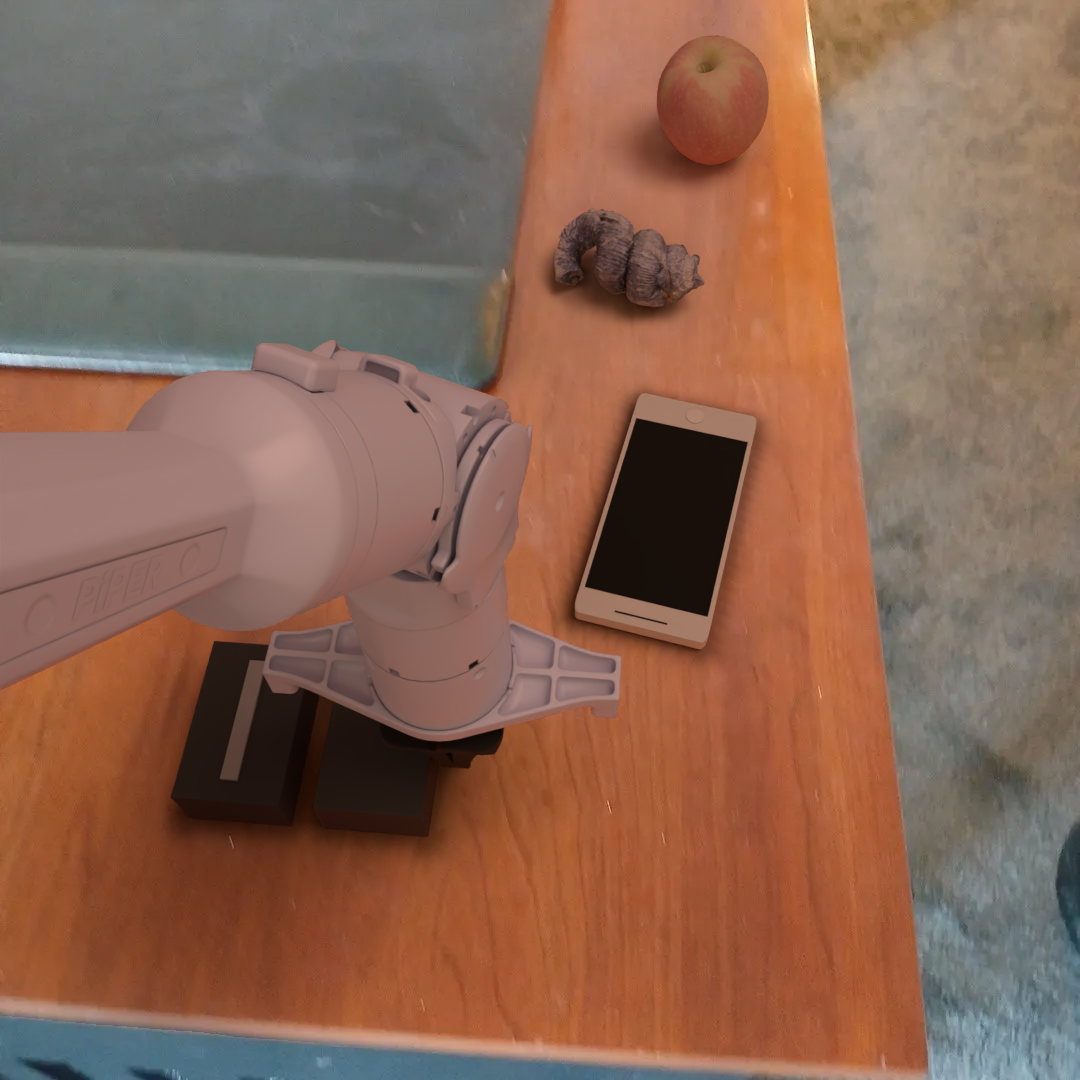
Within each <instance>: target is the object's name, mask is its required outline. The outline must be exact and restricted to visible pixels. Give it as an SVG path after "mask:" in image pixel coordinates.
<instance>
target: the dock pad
mask: <svg viewBox="0 0 1080 1080" xmlns="http://www.w3.org/2000/svg"><path fill="white" fill-rule="evenodd" d="M268 647H269V644H263V643H251V642H250V643H247V642H235V641H234V642H233V641H221V640H214V641H213V644H212V647H211V651H210V654H209V657H208V661H207V665H206V669H205V672H204V676H203V680H202V683H201V687H200V689H199V694H198V698H197V701H196V704H195V708H194V712H193V715H192V718H191V722H190V726H189V729H188V733H187V737H186V741H185V744H184V748H183V750H182V751H183V752H182V754H181V758H180V763H179V766H178V769H177V773H176V777H175V780H174V783H173V787H172V790H171V794H170V799H171V800H172V801H173V802H174V803H175V804H176V805H177V806H178V807H179V809H181V811H182V812H183V813H184V814H185V815H186V816H187V817H188V818H189V819H195V820H209V821H219V822H220V821H223V822H233V823H244V824H245V823H246V824H256V825H257V824H259V825H271V826H283V827H292V826H293V823H294V819H295V813H296V810H297V809H296V808H297V804H298V798H299V795H300V791H301V786H302V780H303V775H304V772H305V771H304V770H305V767H306V761H307V757H308V752H309V747H310V742H311V738H312V734H313V728H314V724H315V719H316V714H317V709H318V704H319V701H320V697H321V695H319V694H316V693H314V692H312V691H309V690H307V689H304V688H301V687H299V689H298V691H297V692H295V693H293V694H286V693H274V692H272V690H271V688H270V686H269V684H268V683H267V681H266V679H265V677H264V675H263V673H262V671H263V667H264V663H265V659H266V655H267V651H268Z"/></svg>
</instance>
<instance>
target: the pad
mask: <svg viewBox="0 0 1080 1080" xmlns="http://www.w3.org/2000/svg"><path fill="white" fill-rule="evenodd" d="M320 763H321V764H320V768H319V773H318V777H317V782H316V788H315V792H314V798H313V803H312V807H311V808H312V810H313V812H314V813H315V815H316V817H317V818H318V820H319V822H320V823H321V825H322V827H323V828H324V829H326V830H328V829H329V830H341V831H352V832H353V831H354V832H363V833H364V832H365V833H375V834H376V833H377V834H390V835H402V836H413V837H425V838H426V837H429V835H430V828H431V820H432V815H433V806H434V801H435V800H434V799H435V792H436V787H437V786H436V785H437V781H438V780H437V779H438V771H439V765H440V764H439V763H438V762H437V761H435V760H434V759H432V758H431V757H429V756H428V755H426V754H424V753H423V752H421V751H418V750H407V749H396V748H391V747H388V746H386V744H385V743H384V741H383V739H382V736H381V733H380V722H379V721H376V720H374V719H372V718H370V717H367V716H365V715H363V714H361V713H359V712H356V711H354V710H352V709H350V708H347V707H345V706H343V705H341V704H339V703H336V702H334V701H333V704H332V709H331V713H330V719H329V724H328V729H327V734H326V739H325V743H324V748H323V753H322V758H321V762H320Z"/></svg>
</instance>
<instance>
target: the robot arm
mask: <svg viewBox="0 0 1080 1080" xmlns="http://www.w3.org/2000/svg"><path fill="white" fill-rule="evenodd" d="M508 409H509V405H508V403H507V402H506V401H505V400H504V399H503V398H500V397H498V396H494V395H491V394H489V393H486V392H482V391H481V390H477V389H473V388H471V387H468V386H465V385H462V384H459V383H457V382H453V381H451V380H448V379H444V378H442V377H439V376H436V375H433V374H430V373H427V372H424V371H421V370H418V368H417V367H416V365H414V364H413V363H411V362H407V361H405V360H402V359H398V358H395V357H393V356H389V355H386V354H383V353H369V352H366V351H362V350H351V351H350V350H348V349H347V348H345V347H343V346H339V344H338V342H337V341H336V340H335V339H329V340H327V341H324V342H322V343H321V344H319V345H318V346H316V347H315V348H314V349H313V350H311V351H309V350H306V349H303V348H300V347H297V346H294V345H291V344H288V343H276V342H275V343H274V342H261V343H259V344H257V346H256V347H255V349H254V353H253V358H252V362H251V367H250V369H241V370H240V369H239V370H237V369H236V370H218V369H216V370H207V371H201V372H197V373H193V374H188V375H185V376H183V377H180V378H178V379H175V380H174V381H171V382H170V383H168V384H166V385H165V386H163V387H162V388H161V389H159V390H158V391H156V393H154V394H153V395H152V396H151V397H150V398H149V399H148V400H147V401H145V403H144V404H143V405H142V406H141V407H140V408H139V410H137V411H136V413H135V414H134V416H133V418H132V419H131V420H130V422H129V423H128V425H127V427H126V429H125V430H81V431H78V430H77V431H75V430H74V431H0V692H1V691H4V690H5V689H7V688H9V687H11V686H14V685H16V684H19V683H20V682H23V681H25V680H26V679H28V678H30V677H33V676H35V675H37V674H39V673H41V672H44V671H45V670H47V669H50V668H51V667H54V666H56V665H58V664H60V663H62V662H64V661H66V660H68V659H71V658H72V657H76V656H77V655H79V654H81V653H83V652H85V651H87V650H89V649H91V648H94V647H96V646H98V645H100V644H102V643H104V642H106V641H108V640H111V639H112V638H115V637H116V636H119V635H121V634H123V633H125V632H127V631H129V630H131V629H134V628H136V627H138V626H140V625H142V624H144V623H146V622H148V621H150V620H152V619H154V618H157V617H158V616H161V615H163V614H165V613H167V612H169V611H172V610H173V611H174V612H175V613H176V614H179V615H180V616H182V617H184V618H186V619H187V620H189V621H191V622H193V623H195V624H198V625H200V626H202V627H203V626H204V627H207V628H210V629H214V630H219V631H225V632H251V631H259V630H264V629H268V628H270V627H271V628H272V627H273V626H276V625H278V624H280V623H282V622H285V621H287V620H289V619H291V618H294V617H298V616H299V615H302V614H304V613H306V612H309V611H311V610H313V609H315V608H318V607H319V606H323V605H324V604H326V603H329V602H331V601H333V600H336V599H338V598H340V597H342V596H343V599H344V601H345V604H346V607H347V610H348V613H349V617H350V618H351V619H347V620H343V621H340V622H335V623H331V624H328V625H327V624H326V625H323V626H319V627H314V628H313V627H312V628H307V629H301V630H299V629H298V630H272V631H271V635H270V640H269V643H268V645H269V647H268V651H267V655H266V659H265V663H264V667H263V671H262V673H263V675H264V677H265V679H266V681H267V683H268V684H269V686H270V688H271V690H272V692H274V693H286V694H293V693H295V692H297V691H298V689H299V687H301V688H304V689H307V690H309V691H312V692H314V693H316V694H319V695H320V697H323V698H325V699H328V700H330V701H332V702H333V703H334V702H336V703H339V704H341V705H343V706H345V707H347V708H350V709H352V710H354V711H356V712H359V713H361V714H363V715H365V716H367V717H370V718H372V719H374V720H376V721H379V722H380V733H381V736H382V739H383V741H384V743H385V744H386V746H388V747H391V748H396V749H407V750H418V751H421V752H423V753H424V754H426V755H428V756H429V757H431V758H432V759H434V760H435V761H437V762H438V763H439V765H441V766H442V767H444V768H452V769H453V768H454V769H455V768H456V769H466V770H467V769H470V768H471V766H472V762H473V760H474V759H475V758H476V757H477V756H493V755H496V753H497V752H498V750H499V748H500V746H501V744H502V741H503V738H504V733H505V728H507V727H511V726H515V725H519V724H522V723H526V722H531V721H535V720H538V719H543V718H547V717H549V716H553V715H559V714H563V713H566V712H569V711H575V710H580V709H584V708H590V712H591V715H593V716H594V717H596V718H605V719H617V717H618V712H619V705H620V695H621V675H622V656H621V655H620V654H611V653H604V652H603V653H602V652H598V651H593V650H590V649H586V648H584V647H580V646H578V645H575V644H572V643H570V642H569V641H566V640H563V639H560V638H558V637H555V636H553V635H550V634H548V633H547V632H546V633H545V632H543V631H540V630H539V629H536V628H534V627H531V626H529V625H526V624H523V623H521V622H519V621H517V620H514V619H511V618H510V616H509V615H510V614H509V613H510V612H509V600H508V599H509V597H508V585H507V573H506V561H507V559H508V557H509V555H510V553H511V551H512V549H513V547H514V545H515V542H516V536H517V535H516V534H517V532H518V529H519V527H520V524H519V506H520V500H521V494H522V491H523V487H524V484H525V479H526V476H527V471H528V468H529V463H530V457H531V452H532V445H533V444H532V443H533V425H532V424H529V425H527V427H526V426H525V425H524V424H522V423H520V422H517V421H513V422H512V414H511V411H508Z"/></svg>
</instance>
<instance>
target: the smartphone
mask: <svg viewBox="0 0 1080 1080" xmlns="http://www.w3.org/2000/svg"><path fill="white" fill-rule="evenodd" d="M756 428H757V417H756V416H753V415H750V414H745V413H740V412H736V411H731V410H727V409H722V408H717V407H713V406H707V405H703V404H699V403H693V402H689V401H684V400H680V399H674V398H670V397H666V396H660V395H655V394H651V393H646V392H645V393H643V392H642V393H641V394H640V395H639V396H638V398H637V400H636V403H635V405H634V410H633V412H632V416H631V419H630V423H629V426H628V429H627V433H626V435H625V438H624V442H623V445H622V448H621V451H620V454H619V458H618V462H617V465H616V467H615V471H614V473H613V478H612V480H611V484H610V487H609V491H608V494H607V497H606V500H605V504H604V506H603V510H602V513H601V516H600V519H599V523H598V526H597V530H596V532H595V536H594V539H593V543H592V546H591V549H590V552H589V555H588V558H587V562H586V564H585V568H584V571H583V574H582V578H581V581H580V585H579V587H578V591H577V593H576V597H575V601H574V616H575V619H577V620H580V621H584V622H588V623H592V624H595V625H600V626H604V627H608V628H611V629H616V630H619V631H624V632H627V633H632V634H637V635H640V636H643V637H649V638H652V639H656V640H660V641H663V642H668V643H671V644H676V645H680V646H684V647H687V648H693V649H696V650H697V649H698V650H702V649H703V648H705V646H706V644H707V642H708V639H709V635H710V631H711V627H712V624H713V623H712V622H713V618H714V613H715V609H716V605H717V602H718V601H717V600H718V597H719V592H720V586H721V583H722V579H723V574H724V571H725V570H724V569H725V566H726V561H727V557H728V554H729V553H728V552H729V548H730V543H731V540H732V539H731V538H732V534H733V531H734V526H735V522H736V516H737V512H738V508H739V504H740V501H741V500H740V499H741V495H742V490H743V485H744V481H745V477H746V474H747V473H746V472H747V468H748V465H749V459H750V455H751V451H752V446H753V441H754V437H755V433H756V430H757V429H756Z"/></svg>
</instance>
